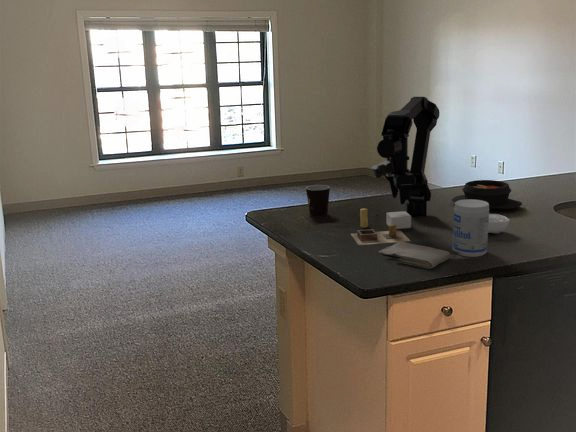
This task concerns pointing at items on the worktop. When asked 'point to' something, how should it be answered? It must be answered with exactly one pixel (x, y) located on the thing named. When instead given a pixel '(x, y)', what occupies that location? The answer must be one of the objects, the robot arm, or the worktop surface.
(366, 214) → the peg
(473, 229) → the supplement tub
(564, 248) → the worktop surface
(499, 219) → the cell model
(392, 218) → the grey rounded cube
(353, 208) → the worktop surface
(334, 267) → the worktop surface
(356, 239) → the board
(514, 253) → the worktop surface
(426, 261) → the washcloth
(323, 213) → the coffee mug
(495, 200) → the casserole
